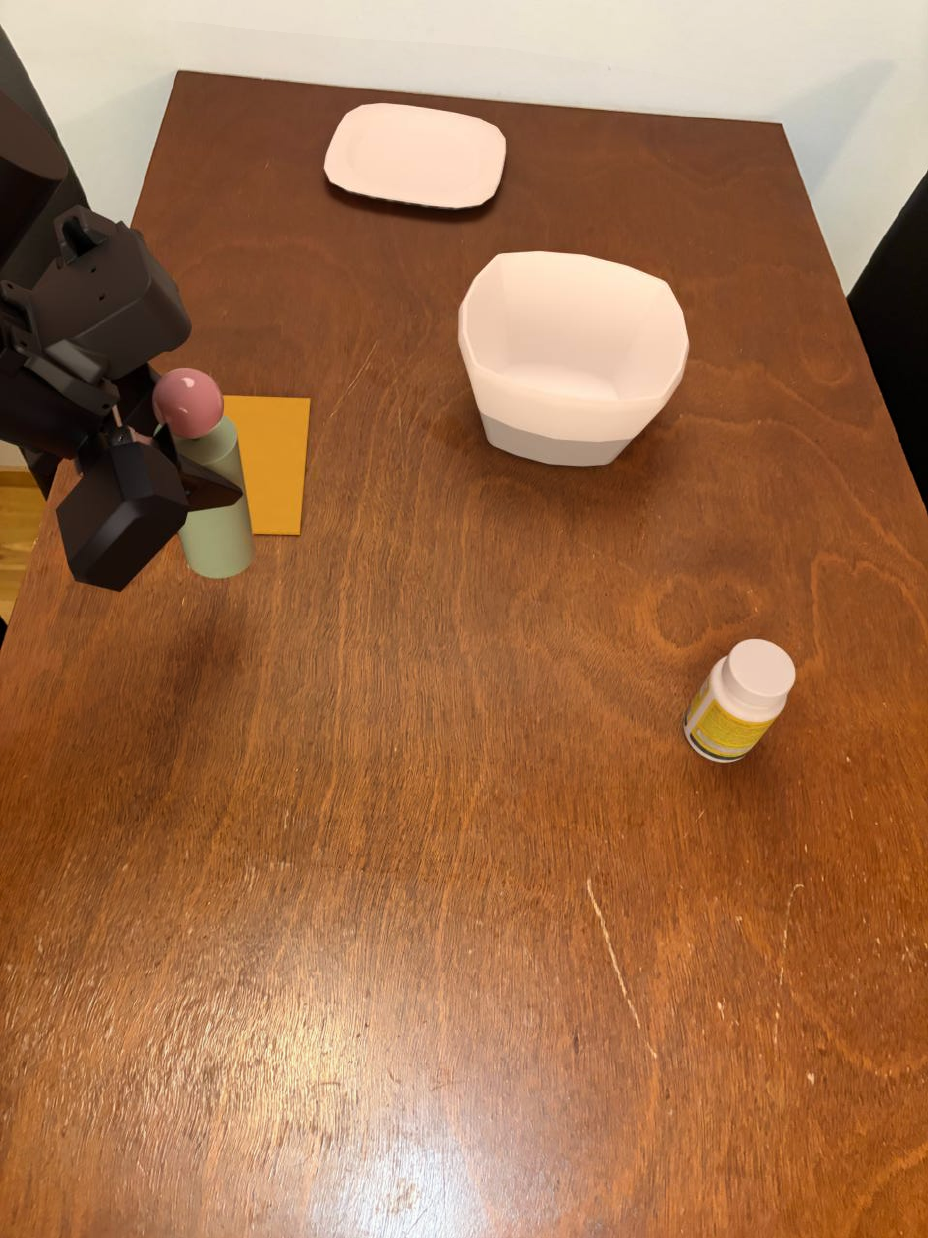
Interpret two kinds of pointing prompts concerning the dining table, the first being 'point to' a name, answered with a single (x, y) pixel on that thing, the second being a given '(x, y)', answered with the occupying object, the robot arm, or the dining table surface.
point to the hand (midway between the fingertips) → (227, 468)
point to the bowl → (569, 354)
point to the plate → (416, 156)
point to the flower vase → (210, 440)
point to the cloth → (272, 458)
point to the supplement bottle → (739, 700)
